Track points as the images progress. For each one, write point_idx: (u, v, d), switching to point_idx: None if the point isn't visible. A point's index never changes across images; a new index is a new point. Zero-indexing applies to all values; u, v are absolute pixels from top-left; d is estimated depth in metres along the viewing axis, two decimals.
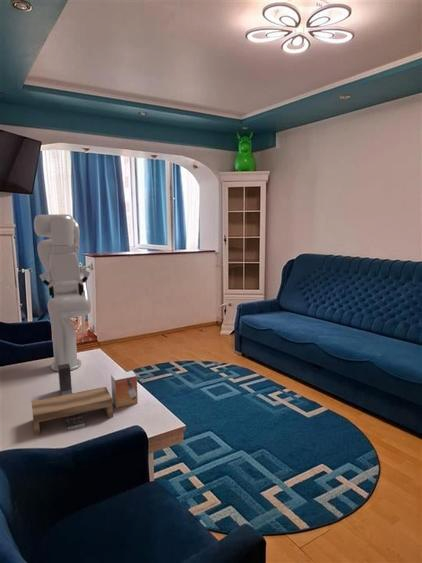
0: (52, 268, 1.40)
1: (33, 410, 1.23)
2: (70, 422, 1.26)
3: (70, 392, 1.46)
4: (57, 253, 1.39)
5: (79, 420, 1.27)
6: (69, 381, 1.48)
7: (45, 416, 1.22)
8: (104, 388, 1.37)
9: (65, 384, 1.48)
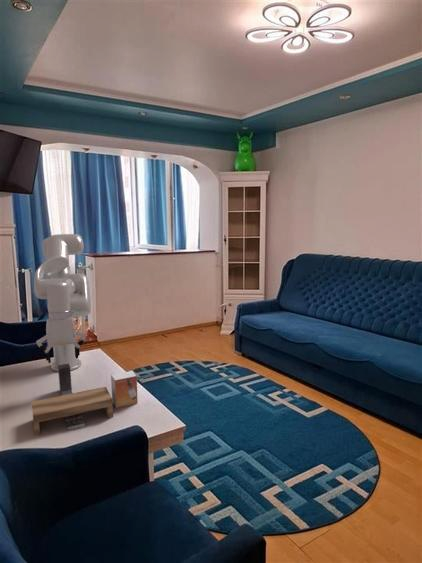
0: (49, 334, 1.42)
1: (33, 410, 1.23)
2: (70, 422, 1.26)
3: (70, 392, 1.46)
4: (53, 319, 1.41)
5: (79, 420, 1.27)
6: (69, 381, 1.48)
7: (45, 416, 1.22)
8: (104, 388, 1.37)
9: (65, 384, 1.48)
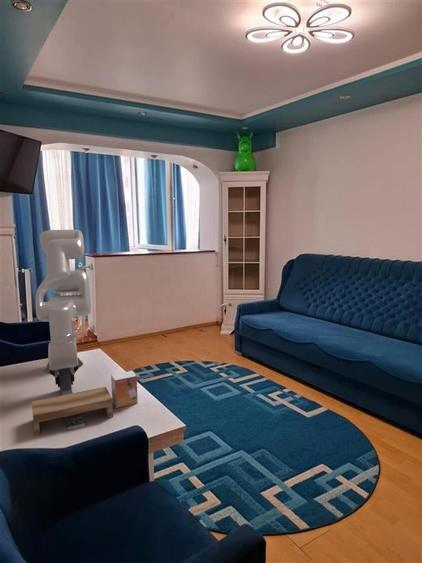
0: (51, 358, 1.44)
1: (33, 410, 1.23)
2: (70, 422, 1.26)
3: (70, 392, 1.46)
4: (55, 344, 1.43)
5: (79, 420, 1.27)
6: (69, 381, 1.48)
7: (45, 416, 1.22)
8: (104, 388, 1.37)
9: (65, 384, 1.48)
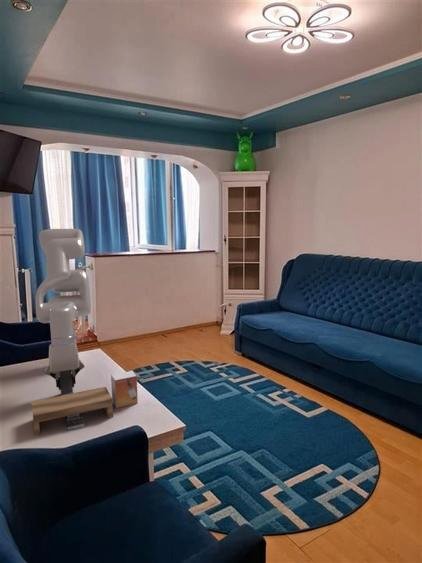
0: (51, 360, 1.41)
1: (33, 410, 1.23)
2: (70, 422, 1.26)
3: None
4: (56, 346, 1.40)
5: (79, 420, 1.27)
6: (70, 384, 1.45)
7: (45, 416, 1.22)
8: (104, 388, 1.37)
9: (66, 387, 1.45)
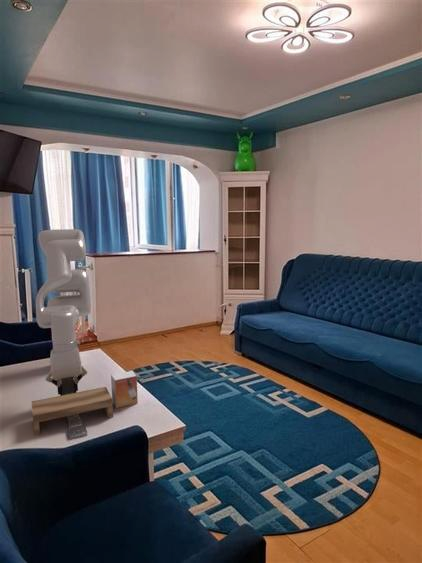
0: (53, 366, 1.35)
1: (33, 410, 1.23)
2: (72, 430, 1.21)
3: None
4: (58, 352, 1.34)
5: (82, 428, 1.23)
6: (72, 391, 1.40)
7: (45, 416, 1.22)
8: (104, 388, 1.37)
9: None
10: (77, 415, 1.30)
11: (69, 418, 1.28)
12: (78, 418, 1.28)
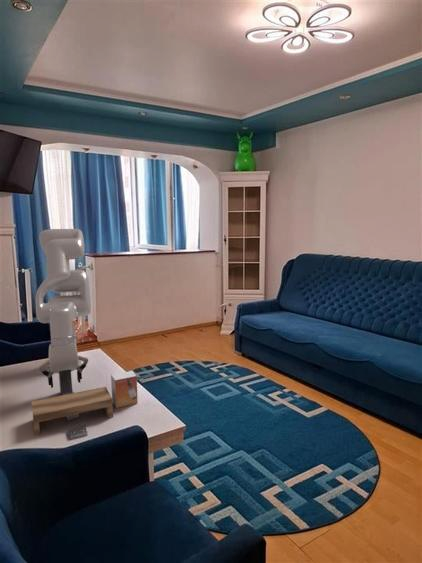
0: (51, 360, 1.42)
1: (33, 410, 1.23)
2: (72, 431, 1.21)
3: None
4: (56, 345, 1.41)
5: (82, 428, 1.23)
6: (70, 383, 1.46)
7: (45, 416, 1.22)
8: (104, 388, 1.37)
9: (66, 386, 1.46)
10: None
11: None
12: None
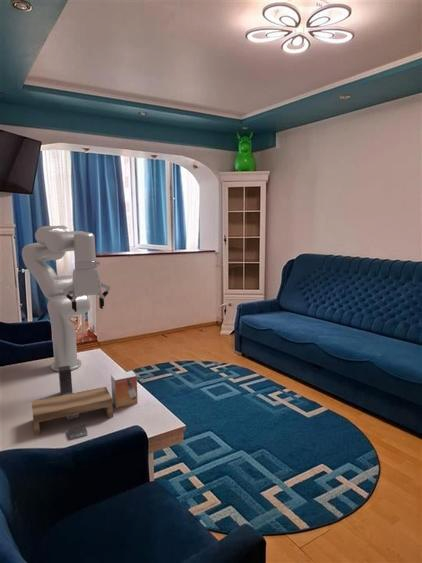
0: (75, 283, 1.46)
1: (33, 410, 1.23)
2: (72, 431, 1.21)
3: None
4: (80, 269, 1.45)
5: (82, 428, 1.23)
6: (70, 383, 1.46)
7: (45, 416, 1.22)
8: (104, 388, 1.37)
9: (66, 386, 1.46)
10: None
11: None
12: None
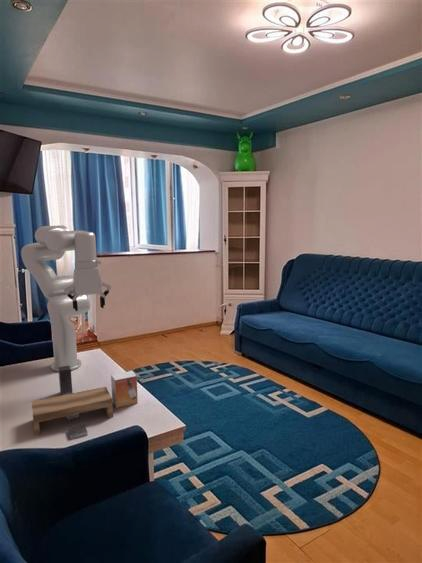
0: (76, 282, 1.46)
1: (33, 410, 1.23)
2: (72, 431, 1.21)
3: None
4: (81, 268, 1.45)
5: (82, 428, 1.23)
6: (70, 383, 1.46)
7: (45, 416, 1.22)
8: (104, 388, 1.37)
9: (66, 386, 1.46)
10: None
11: None
12: None
